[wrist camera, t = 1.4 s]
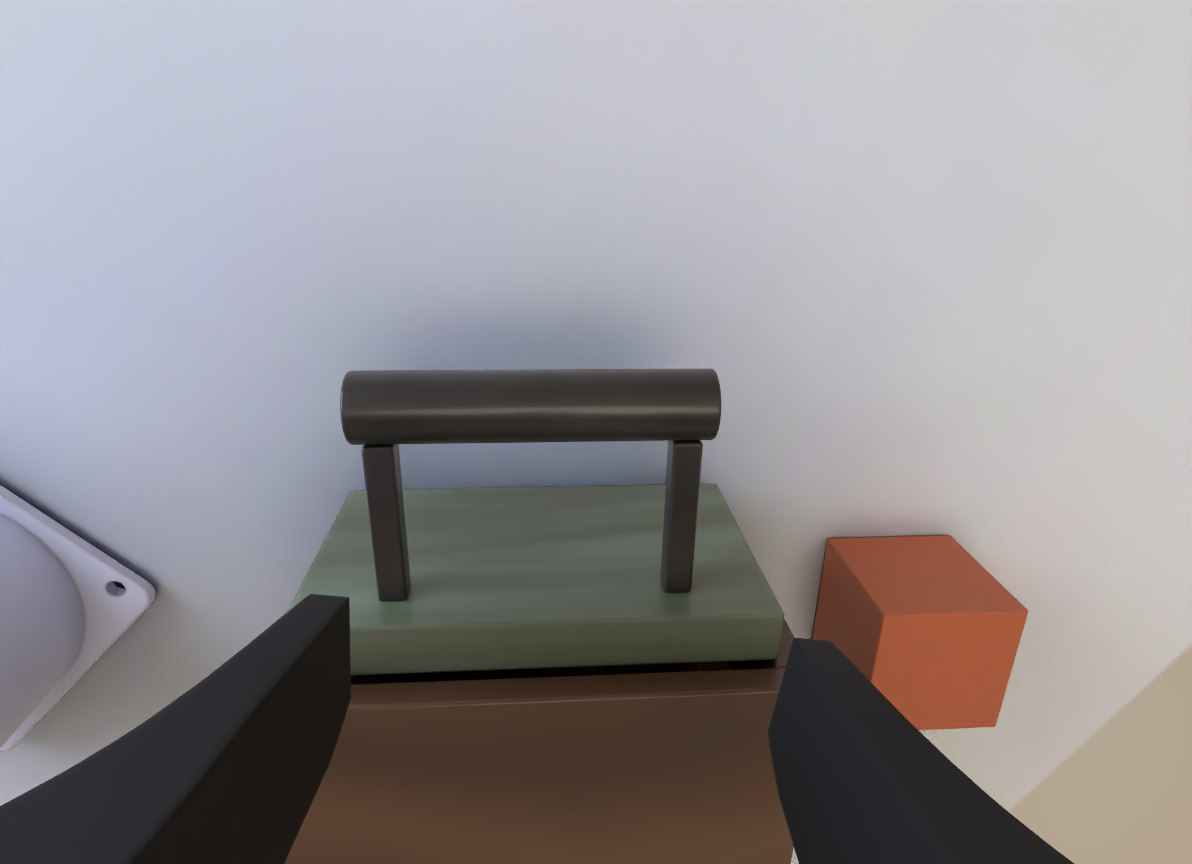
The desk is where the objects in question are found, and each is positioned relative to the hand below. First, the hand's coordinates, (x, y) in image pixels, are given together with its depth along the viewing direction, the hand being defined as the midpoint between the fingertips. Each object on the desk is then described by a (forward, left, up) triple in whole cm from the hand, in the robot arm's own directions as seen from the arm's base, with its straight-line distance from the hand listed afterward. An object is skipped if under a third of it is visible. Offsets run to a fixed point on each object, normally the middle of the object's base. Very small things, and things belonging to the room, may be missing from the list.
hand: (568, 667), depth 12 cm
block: (+11, +4, -10) cm, 15 cm away
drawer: (+3, -3, -9) cm, 10 cm away
